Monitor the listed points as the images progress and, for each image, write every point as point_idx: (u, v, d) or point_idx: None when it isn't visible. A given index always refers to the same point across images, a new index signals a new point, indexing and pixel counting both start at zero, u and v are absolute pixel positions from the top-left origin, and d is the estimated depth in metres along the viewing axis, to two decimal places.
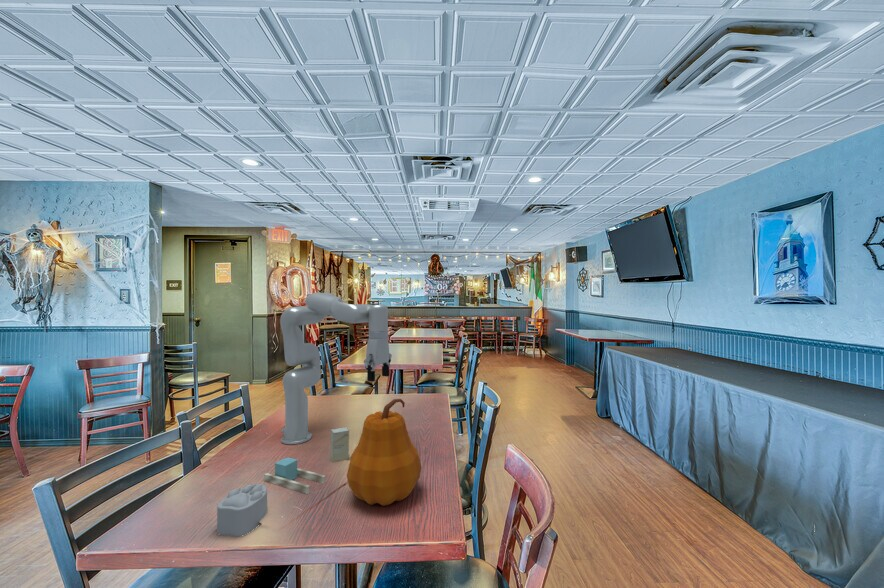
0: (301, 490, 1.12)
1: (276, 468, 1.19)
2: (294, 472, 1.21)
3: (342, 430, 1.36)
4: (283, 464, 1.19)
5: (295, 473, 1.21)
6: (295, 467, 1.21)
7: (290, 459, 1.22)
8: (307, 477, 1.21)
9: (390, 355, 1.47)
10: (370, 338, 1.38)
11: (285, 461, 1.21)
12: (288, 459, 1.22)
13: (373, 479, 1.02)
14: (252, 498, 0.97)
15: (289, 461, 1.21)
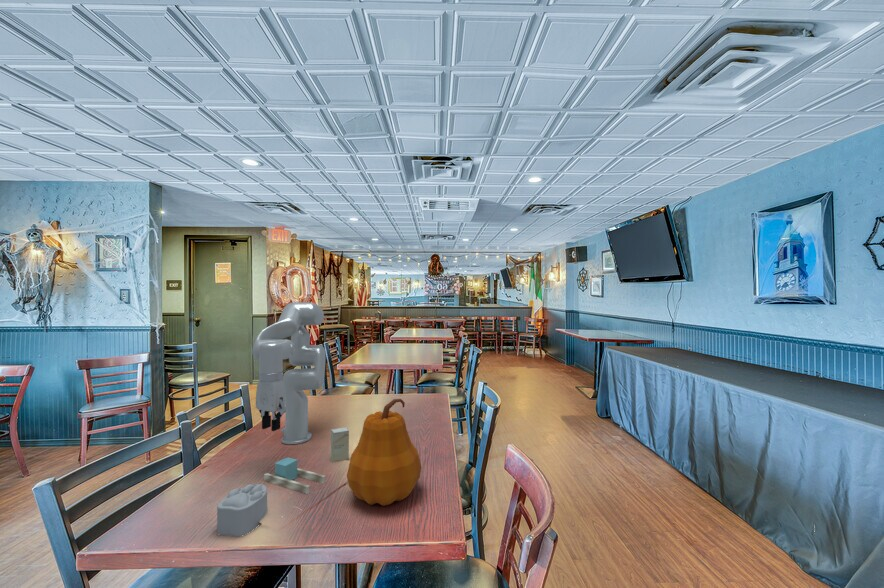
0: (301, 490, 1.12)
1: (276, 468, 1.19)
2: (294, 472, 1.21)
3: (342, 430, 1.36)
4: (283, 464, 1.19)
5: (295, 473, 1.21)
6: (295, 467, 1.21)
7: (290, 459, 1.22)
8: (307, 477, 1.21)
9: None
10: (274, 381, 1.22)
11: (285, 461, 1.21)
12: (288, 459, 1.22)
13: (373, 479, 1.02)
14: (252, 498, 0.97)
15: (289, 461, 1.21)
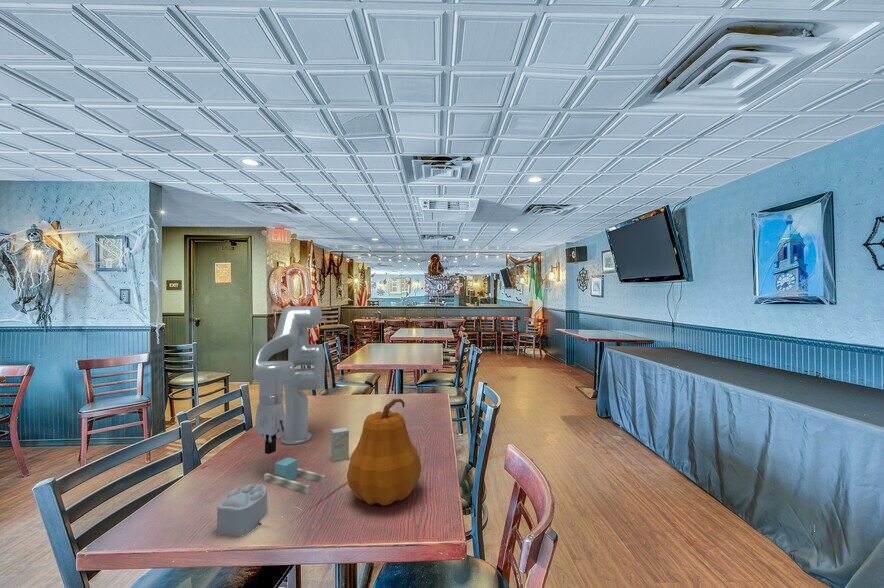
0: (301, 490, 1.12)
1: (276, 468, 1.19)
2: (294, 472, 1.21)
3: (342, 430, 1.36)
4: (283, 464, 1.19)
5: (295, 473, 1.21)
6: (295, 467, 1.21)
7: (290, 459, 1.22)
8: (307, 477, 1.21)
9: None
10: (274, 404, 1.22)
11: (285, 461, 1.21)
12: (288, 459, 1.22)
13: (373, 479, 1.02)
14: (252, 498, 0.97)
15: (289, 461, 1.21)
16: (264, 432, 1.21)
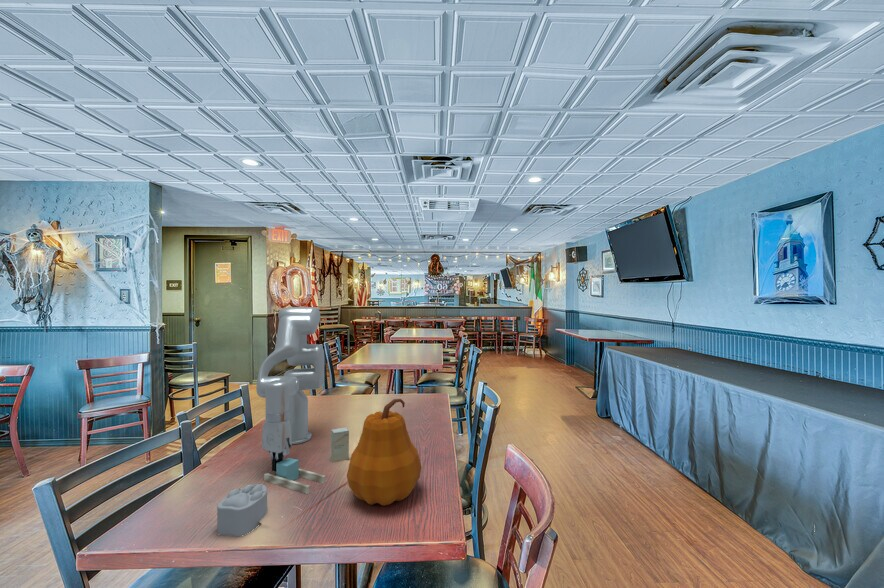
0: (301, 490, 1.12)
1: (277, 468, 1.19)
2: (295, 472, 1.21)
3: (342, 430, 1.36)
4: (284, 464, 1.18)
5: (296, 473, 1.21)
6: (296, 467, 1.21)
7: (291, 459, 1.22)
8: (307, 477, 1.21)
9: None
10: (281, 421, 1.20)
11: (286, 461, 1.21)
12: (290, 459, 1.22)
13: (373, 479, 1.02)
14: (252, 498, 0.97)
15: (291, 461, 1.21)
16: (271, 450, 1.20)
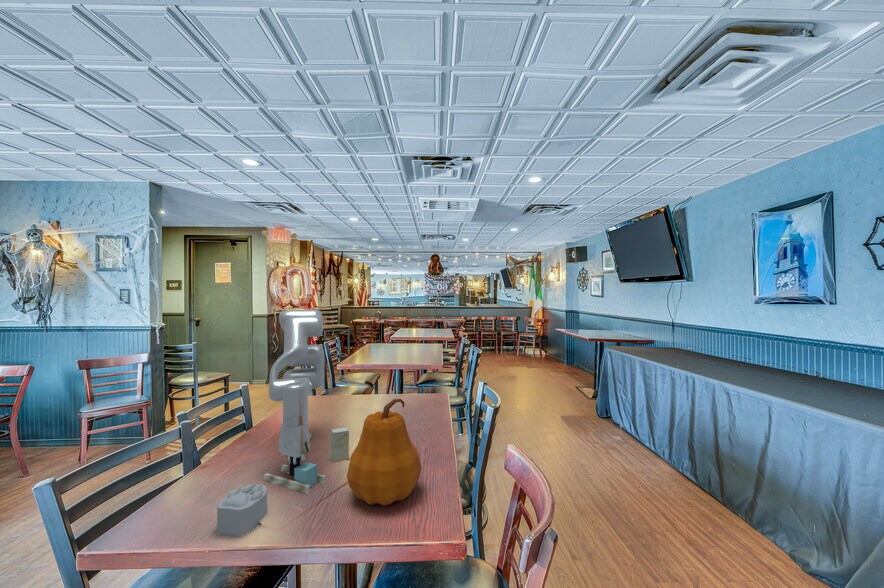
0: (301, 490, 1.12)
1: (295, 473, 1.15)
2: (314, 477, 1.17)
3: (342, 430, 1.36)
4: (303, 469, 1.15)
5: (315, 478, 1.17)
6: (315, 472, 1.17)
7: (309, 464, 1.18)
8: None
9: None
10: (299, 425, 1.17)
11: (305, 466, 1.17)
12: (308, 464, 1.18)
13: (373, 479, 1.02)
14: (252, 498, 0.97)
15: (309, 466, 1.17)
16: (288, 454, 1.16)
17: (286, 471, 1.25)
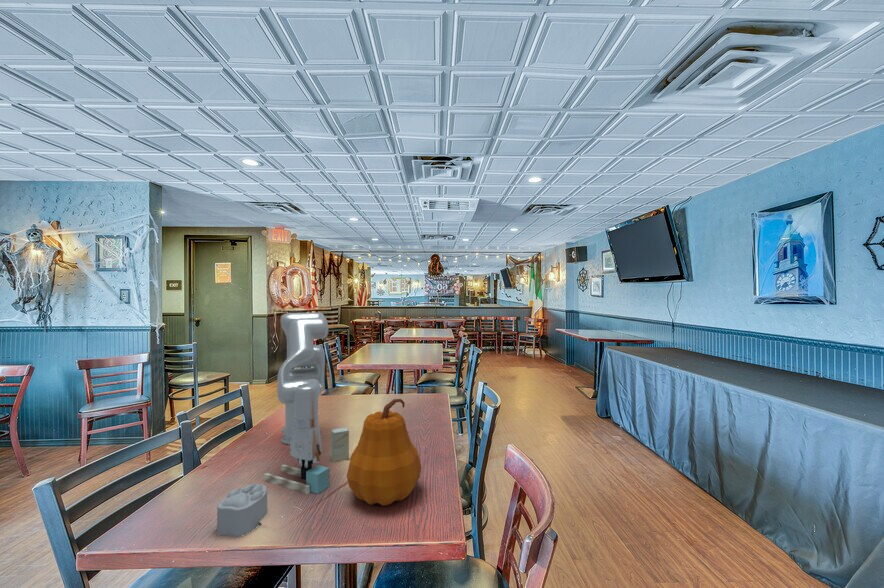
0: (301, 490, 1.12)
1: (307, 477, 1.13)
2: (326, 481, 1.15)
3: (342, 430, 1.36)
4: (315, 473, 1.12)
5: (327, 482, 1.15)
6: (327, 476, 1.15)
7: (321, 467, 1.16)
8: None
9: None
10: (311, 427, 1.14)
11: (316, 469, 1.15)
12: (320, 467, 1.16)
13: (373, 479, 1.02)
14: (252, 498, 0.97)
15: (321, 469, 1.15)
16: (300, 457, 1.14)
17: (286, 471, 1.25)
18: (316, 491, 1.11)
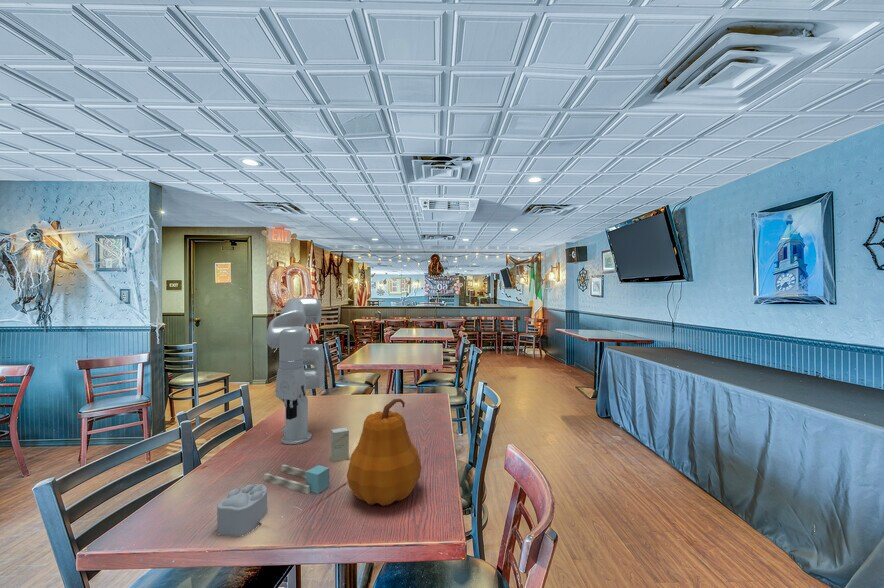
0: (301, 490, 1.12)
1: (307, 477, 1.13)
2: (326, 481, 1.15)
3: (342, 430, 1.36)
4: (315, 473, 1.12)
5: (327, 482, 1.15)
6: (327, 476, 1.15)
7: (321, 467, 1.16)
8: None
9: None
10: (295, 368, 1.18)
11: (317, 469, 1.15)
12: (320, 467, 1.16)
13: (373, 479, 1.02)
14: (252, 498, 0.97)
15: (321, 469, 1.15)
16: (285, 397, 1.18)
17: (286, 471, 1.25)
18: (316, 491, 1.11)
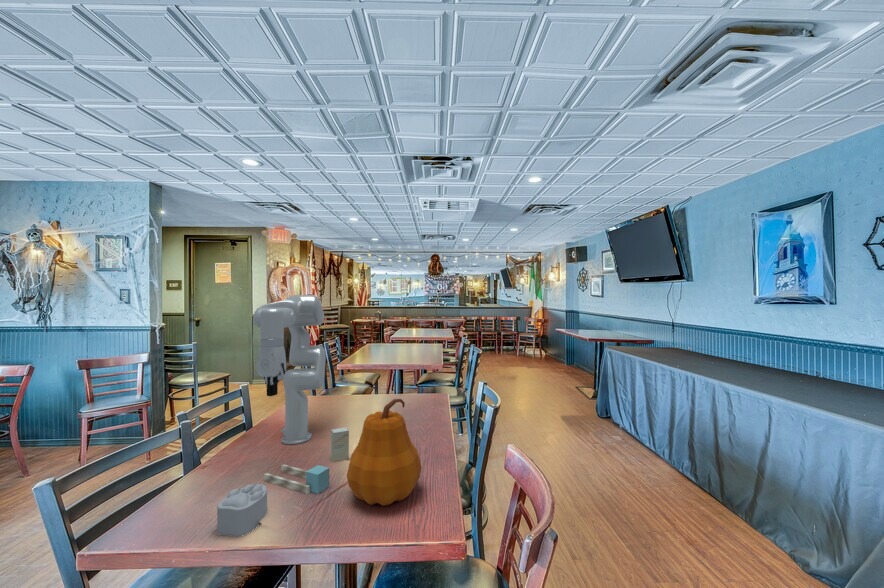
0: (301, 490, 1.12)
1: (307, 477, 1.13)
2: (326, 481, 1.15)
3: (342, 430, 1.36)
4: (315, 473, 1.12)
5: (327, 482, 1.15)
6: (327, 476, 1.15)
7: (321, 467, 1.16)
8: None
9: None
10: (275, 346, 1.22)
11: (317, 469, 1.15)
12: (320, 467, 1.16)
13: (373, 479, 1.02)
14: (252, 498, 0.97)
15: (321, 469, 1.15)
16: (266, 374, 1.22)
17: (286, 471, 1.25)
18: (316, 491, 1.11)
